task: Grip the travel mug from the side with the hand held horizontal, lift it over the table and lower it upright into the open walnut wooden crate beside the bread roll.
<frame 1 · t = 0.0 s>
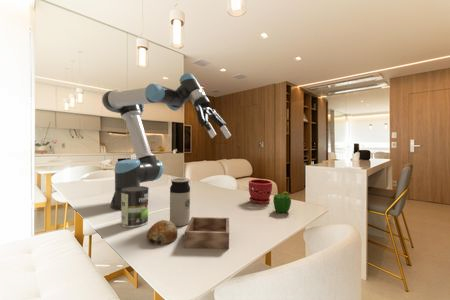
hand: (221, 136, 101), 36 cm above the table, tool tilted 35°, fingers open, 13 cm apart
bread roll: (162, 239, 75), on the table
coffee can: (134, 223, 89), on the table
plant pot: (259, 202, 125), on the table
travel mug: (179, 223, 90), on the table
bell pepper: (281, 212, 108), on the table
walnut crate: (208, 238, 76), on the table
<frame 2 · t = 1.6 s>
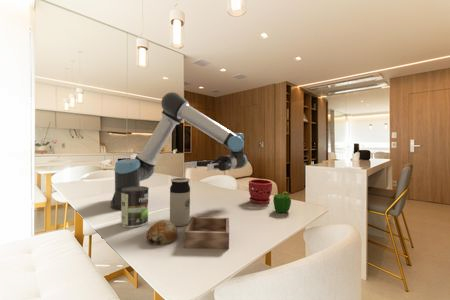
hand: (196, 166, 97), 23 cm above the table, tool horizontal, fingers open, 13 cm apart
nothing on the table moved.
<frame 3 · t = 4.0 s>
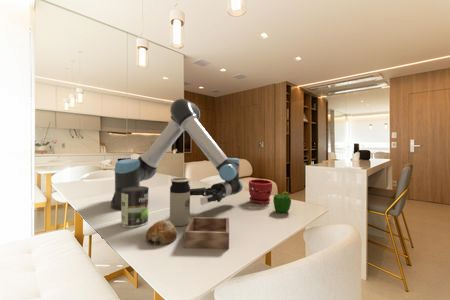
hand: (189, 198, 93), 9 cm above the table, tool horizontal, fingers open, 13 cm apart
nothing on the table moved.
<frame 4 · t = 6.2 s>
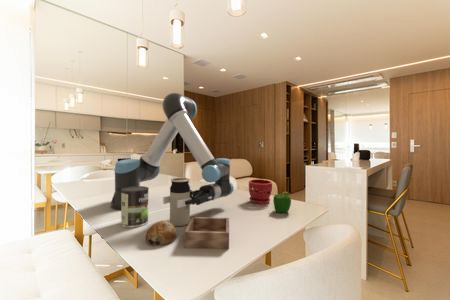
hand: (170, 202, 86), 10 cm above the table, tool horizontal, fingers closed on travel mug, 8 cm apart
travel mug: (179, 223, 90), on the table, touching gripper
everything else where it was.
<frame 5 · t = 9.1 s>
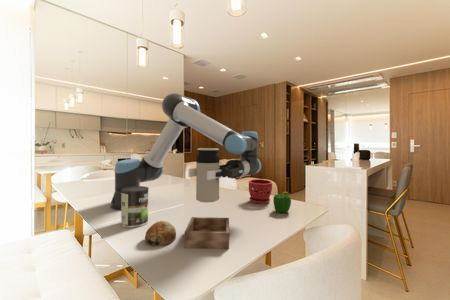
hand: (198, 174, 73), 23 cm above the table, tool horizontal, fingers closed on travel mug, 8 cm apart
travel mug: (207, 200, 77), point 13 cm above the table, touching gripper
everything else where it was.
when the fingers open (12 cm above the table, at t = 12.0 s): travel mug drops 1 cm, resting on walnut crate.
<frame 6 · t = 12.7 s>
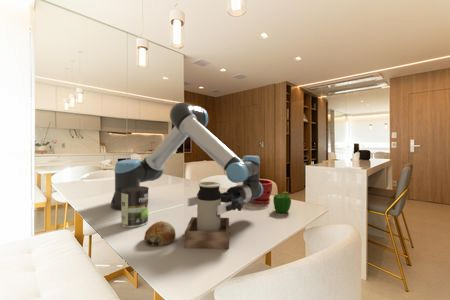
hand: (202, 206, 73), 12 cm above the table, tool horizontal, fingers open, 13 cm apart
travel mug: (208, 236, 76), point 1 cm above the table, touching walnut crate
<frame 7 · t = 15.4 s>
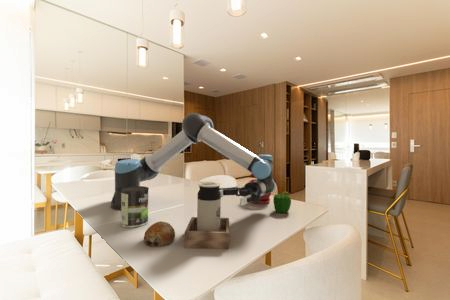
hand: (225, 198, 83), 12 cm above the table, tool horizontal, fingers open, 13 cm apart
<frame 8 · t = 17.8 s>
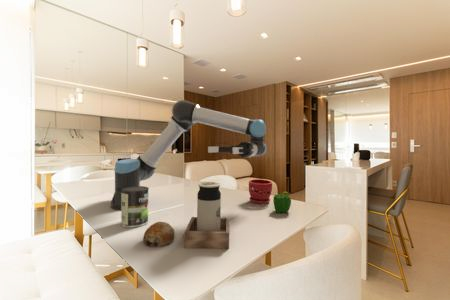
hand: (220, 150, 94), 30 cm above the table, tool horizontal, fingers open, 13 cm apart
at the end: travel mug inside the target area on the walnut crate (0.1 cm from its centre), point 0.8 cm above the walnut crate's base; travel mug tilted 0°; the gripper is holding nothing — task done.
